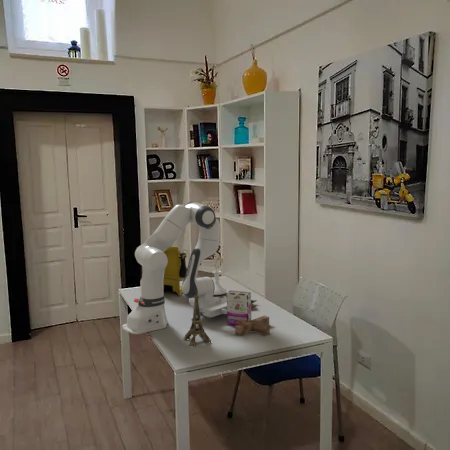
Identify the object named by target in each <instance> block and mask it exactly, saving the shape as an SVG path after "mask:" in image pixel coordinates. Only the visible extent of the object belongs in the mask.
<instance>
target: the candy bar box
mask: <svg viewBox="0 0 450 450" xmlns="http://www.w3.org/2000/svg"><path fill="white" fill-rule="evenodd" d="M226 297H227V314H226V316H227V318H226V319H227V320H226V321H227V326H233V327H235V326H237V325H240V324H242V323H245V322H248V321H251V320H252V308H251V300H252V292H251V291H244V290H243V291H242V290H241V291H239V290H229V291H227V292H226Z"/></svg>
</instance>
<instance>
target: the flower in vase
mask: <svg viewBox="0 0 450 450" xmlns="http://www.w3.org/2000/svg"><path fill="white" fill-rule="evenodd" d="M214 255H215V257H216V258H217V259H216V260H215V264H214V268H215V270H213V271H212V273H213V276H214V285H215V290H214V294H213V296H222V295H224V294H227V292H228V291H227V288H225V287H224V286H222V285H221V284H220V274H221V272H222V270H217V269H219V268H220V266H217V262H218V261H219V262H220V263H221V264H224V259H223V258H222V256H221V255H220V254H219V253H218V252H217V251H216V252H215V253H214Z"/></svg>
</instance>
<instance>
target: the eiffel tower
mask: <svg viewBox="0 0 450 450" xmlns="http://www.w3.org/2000/svg"><path fill="white" fill-rule="evenodd" d="M193 298H194V299H195V302H194V307H193V314H192V318H191V326H190V327H189V330H188V331H187V332H186V333H185V335H184V337H183V338H184V339H185V341H188V340H187V339H190V340H189V343H188V344H189V345H188V347H190V346H193V347H197V345H196V337H197V336H198V337H200V338H203V339H204V342H205V344H207V343H209V342H210V343H209V344H212V343H211V341H212V339H210V338H209V336H208V334H207V333H206V332H205V328H204V326H203V318H201V312H200V310H199V303H198V299H199V297H198V295H197V293H196V295H194V297H193ZM184 339H183V340H184ZM194 345H195V346H194Z"/></svg>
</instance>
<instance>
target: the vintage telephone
mask: <svg viewBox="0 0 450 450" xmlns="http://www.w3.org/2000/svg"><path fill="white" fill-rule="evenodd" d="M184 251H186V252H188V250H187V249H183V251H182V252H181V250H180V249H179V247H178V246H175V245H172V246H170V247H169V248H167V249H166V250H165V251H164V253H165V255H166V256H167V259H168V263H167V266H166V267H165V271H164V277H163V291H165V290H164V289H166V290H168V289H172V292H176V294H178V296H179V297H181V295H183V294H182V293H183V292H182V285H181V284H180V280H182V279H185V276H186V272H187V268H188V266H187V264H186V263H187V262H186V258H188V256H190V255H189V253H186V252H184ZM187 254H188V255H187ZM167 288H168V289H167ZM180 294H181V295H180Z"/></svg>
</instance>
